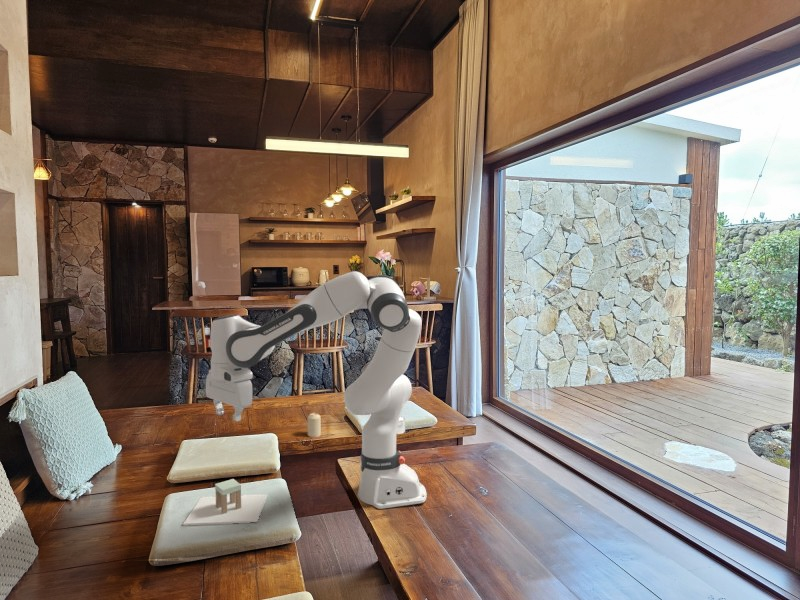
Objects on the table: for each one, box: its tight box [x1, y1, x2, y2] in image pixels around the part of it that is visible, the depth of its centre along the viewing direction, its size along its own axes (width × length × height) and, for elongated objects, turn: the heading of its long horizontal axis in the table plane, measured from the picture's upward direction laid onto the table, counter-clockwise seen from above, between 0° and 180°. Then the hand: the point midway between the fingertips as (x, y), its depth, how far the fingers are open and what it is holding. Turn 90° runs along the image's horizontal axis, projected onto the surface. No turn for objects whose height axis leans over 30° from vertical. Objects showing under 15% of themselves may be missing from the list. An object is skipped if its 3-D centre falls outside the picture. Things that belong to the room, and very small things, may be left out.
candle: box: [307, 412, 322, 438], centre depth 205 cm, size 6×6×10 cm
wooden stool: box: [214, 478, 242, 514], centre depth 143 cm, size 6×6×7 cm
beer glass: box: [397, 416, 406, 435], centre depth 216 cm, size 7×7×15 cm
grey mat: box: [182, 493, 269, 527], centre depth 143 cm, size 20×16×1 cm
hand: (228, 417), depth 143 cm, fingers open, 8 cm apart
